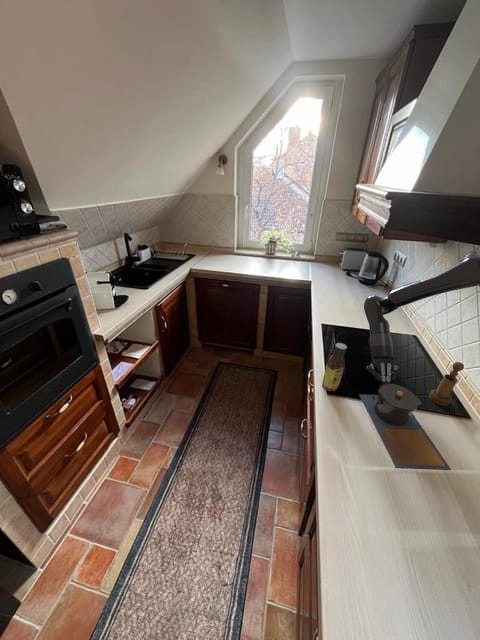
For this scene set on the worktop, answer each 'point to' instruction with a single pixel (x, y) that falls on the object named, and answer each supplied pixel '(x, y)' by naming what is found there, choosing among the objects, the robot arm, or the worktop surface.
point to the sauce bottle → (334, 368)
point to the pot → (395, 404)
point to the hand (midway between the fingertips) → (385, 392)
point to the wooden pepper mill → (446, 386)
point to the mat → (406, 442)
